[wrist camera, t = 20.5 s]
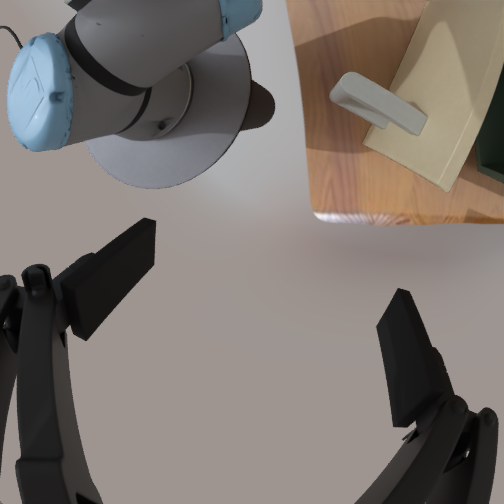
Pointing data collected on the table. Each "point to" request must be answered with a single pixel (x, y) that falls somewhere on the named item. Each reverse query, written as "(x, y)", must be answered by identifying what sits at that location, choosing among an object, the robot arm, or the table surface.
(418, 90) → the door
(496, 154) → the cupboard
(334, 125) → the table surface
